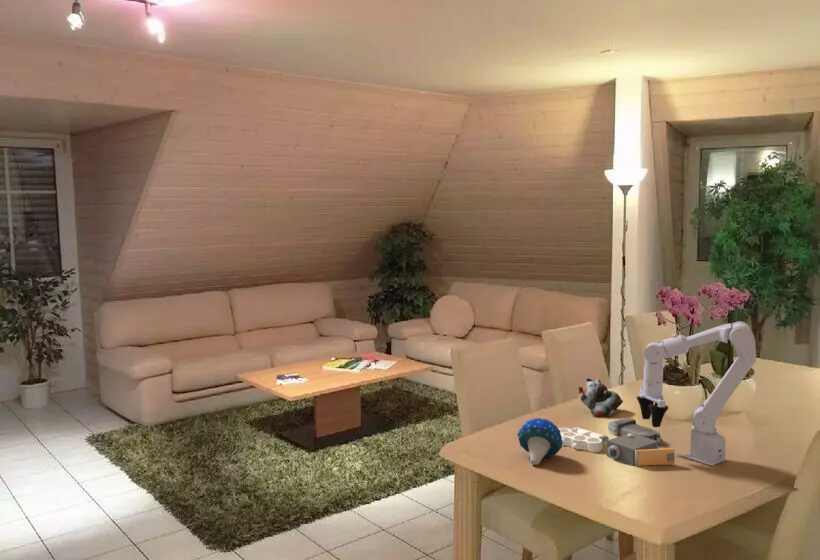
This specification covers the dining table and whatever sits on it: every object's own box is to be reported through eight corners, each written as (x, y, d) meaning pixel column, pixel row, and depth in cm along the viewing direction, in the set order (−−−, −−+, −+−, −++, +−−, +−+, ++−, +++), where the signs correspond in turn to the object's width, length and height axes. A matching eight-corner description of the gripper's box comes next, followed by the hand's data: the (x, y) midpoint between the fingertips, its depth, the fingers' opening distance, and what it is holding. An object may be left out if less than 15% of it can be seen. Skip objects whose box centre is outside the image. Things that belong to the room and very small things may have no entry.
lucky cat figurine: (606, 419, 252) (588, 386, 253) (584, 424, 262) (566, 391, 263) (629, 400, 261) (611, 368, 261) (607, 406, 270) (589, 374, 271)
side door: (675, 464, 207) (675, 449, 207) (636, 466, 206) (636, 451, 206) (672, 462, 209) (673, 448, 209) (634, 464, 208) (634, 449, 208)
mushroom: (513, 444, 206) (524, 404, 215) (509, 468, 216) (519, 429, 226) (561, 457, 202) (569, 416, 212) (554, 481, 212) (562, 440, 222)
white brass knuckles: (616, 446, 226) (588, 456, 217) (572, 432, 240) (544, 442, 231) (617, 436, 226) (589, 446, 217) (572, 423, 240) (544, 432, 231)
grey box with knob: (657, 456, 215) (658, 439, 214) (630, 466, 207) (630, 448, 207) (630, 447, 223) (631, 431, 222) (603, 457, 215) (603, 439, 215)
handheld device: (653, 450, 222) (653, 436, 221) (604, 433, 238) (604, 420, 238) (672, 444, 227) (672, 430, 226) (623, 428, 244) (623, 415, 243)
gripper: (631, 375, 224) (629, 415, 225) (650, 387, 209) (648, 430, 211) (652, 374, 224) (650, 415, 226) (672, 386, 210) (670, 430, 211)
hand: (651, 422), depth 218 cm, fingers open, 7 cm apart
